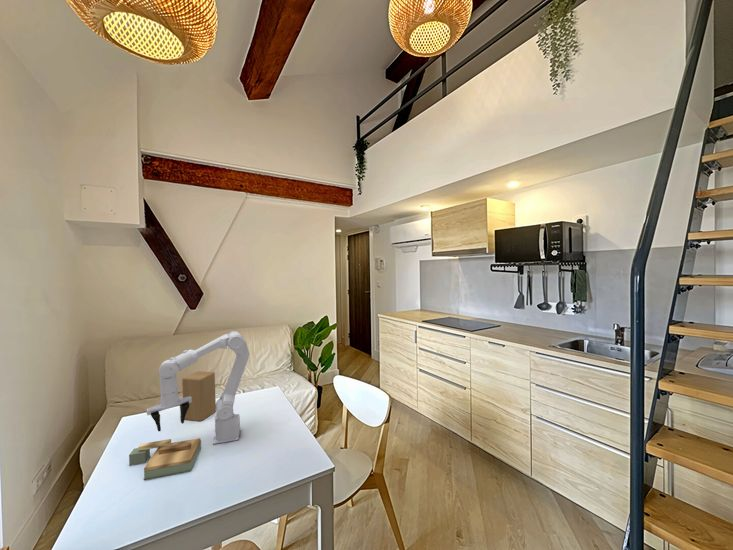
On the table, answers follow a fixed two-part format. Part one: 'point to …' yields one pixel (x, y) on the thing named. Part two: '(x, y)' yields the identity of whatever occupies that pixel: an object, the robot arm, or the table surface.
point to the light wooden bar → (154, 444)
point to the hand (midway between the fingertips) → (171, 426)
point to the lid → (173, 454)
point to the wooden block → (200, 395)
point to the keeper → (138, 456)
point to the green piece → (172, 468)
